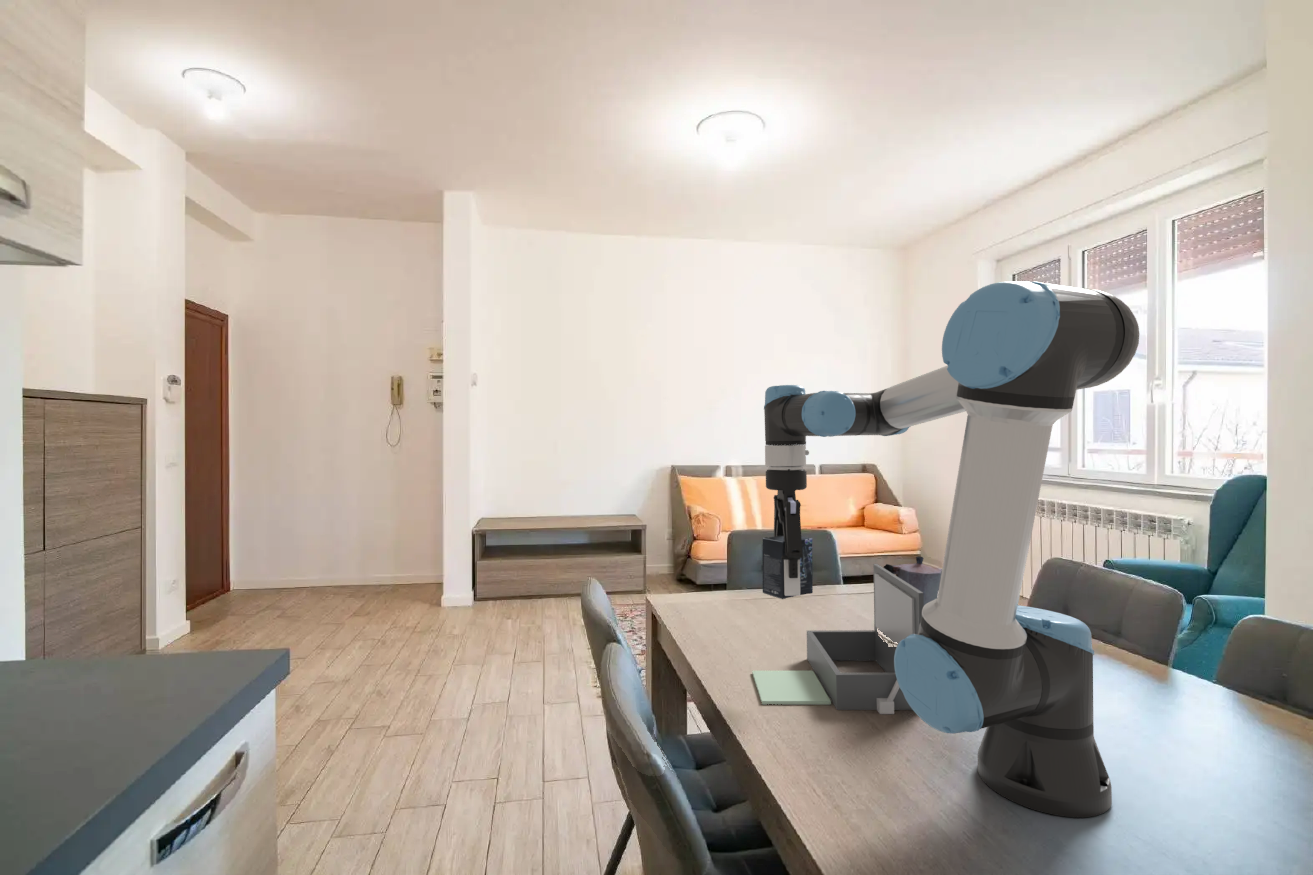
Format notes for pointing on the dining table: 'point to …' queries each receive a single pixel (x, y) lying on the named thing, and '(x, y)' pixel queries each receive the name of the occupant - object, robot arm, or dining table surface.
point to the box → (775, 567)
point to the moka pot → (919, 577)
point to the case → (869, 649)
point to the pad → (790, 688)
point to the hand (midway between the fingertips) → (787, 588)
